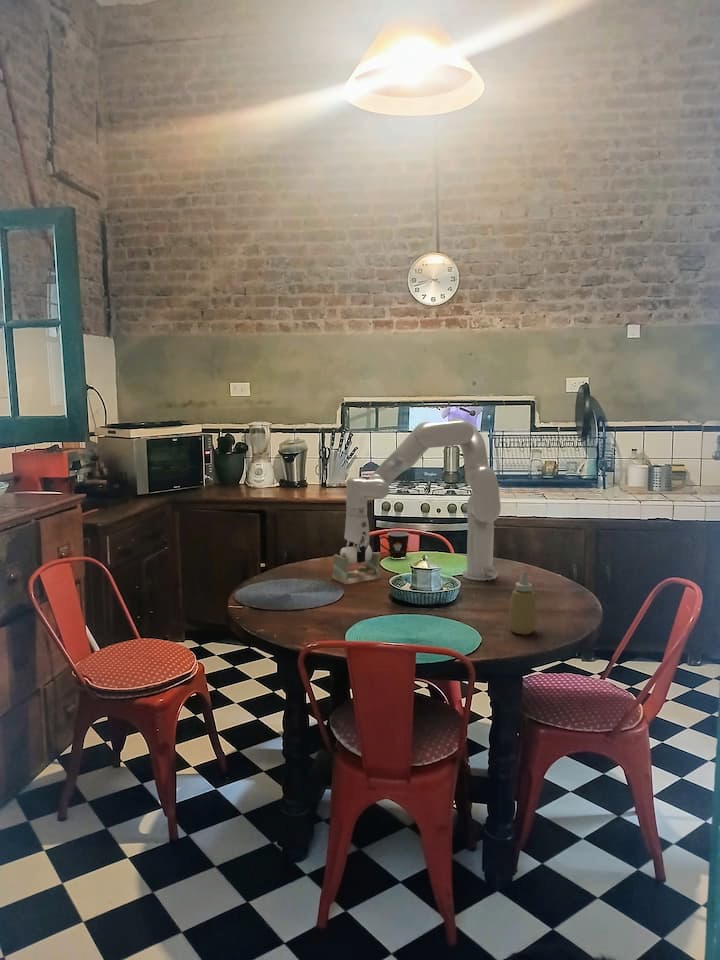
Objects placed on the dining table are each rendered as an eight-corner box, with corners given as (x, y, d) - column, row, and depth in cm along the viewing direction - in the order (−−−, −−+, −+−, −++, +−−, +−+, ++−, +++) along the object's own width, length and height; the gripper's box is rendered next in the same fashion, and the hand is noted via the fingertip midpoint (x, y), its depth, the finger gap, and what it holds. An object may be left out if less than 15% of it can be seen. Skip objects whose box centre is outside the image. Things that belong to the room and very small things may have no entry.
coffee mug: (412, 557, 303) (412, 533, 302) (402, 561, 296) (402, 537, 294) (387, 553, 309) (388, 529, 308) (377, 557, 302) (377, 533, 301)
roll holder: (366, 572, 279) (367, 549, 278) (380, 578, 272) (380, 554, 271) (332, 578, 271) (332, 554, 270) (345, 584, 264) (345, 559, 263)
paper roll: (363, 558, 276) (363, 543, 275) (372, 562, 271) (372, 545, 270) (340, 562, 270) (340, 546, 270) (348, 565, 265) (348, 549, 265)
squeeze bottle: (532, 626, 221) (534, 568, 218) (539, 636, 213) (541, 575, 210) (505, 626, 221) (507, 568, 218) (511, 636, 213) (513, 575, 210)
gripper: (378, 514, 263) (377, 564, 265) (352, 507, 277) (352, 554, 280) (360, 516, 259) (360, 566, 261) (335, 508, 273) (335, 556, 276)
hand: (356, 559), depth 271 cm, fingers closed on paper roll, 6 cm apart
